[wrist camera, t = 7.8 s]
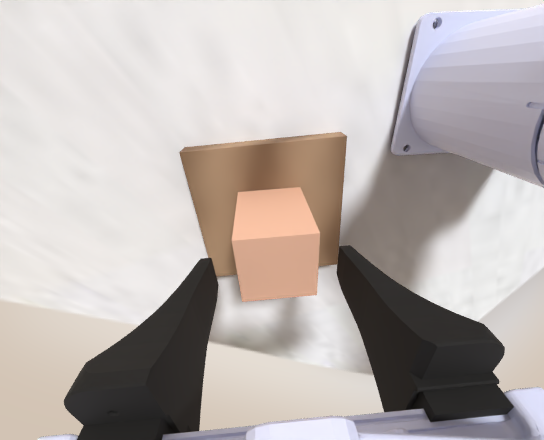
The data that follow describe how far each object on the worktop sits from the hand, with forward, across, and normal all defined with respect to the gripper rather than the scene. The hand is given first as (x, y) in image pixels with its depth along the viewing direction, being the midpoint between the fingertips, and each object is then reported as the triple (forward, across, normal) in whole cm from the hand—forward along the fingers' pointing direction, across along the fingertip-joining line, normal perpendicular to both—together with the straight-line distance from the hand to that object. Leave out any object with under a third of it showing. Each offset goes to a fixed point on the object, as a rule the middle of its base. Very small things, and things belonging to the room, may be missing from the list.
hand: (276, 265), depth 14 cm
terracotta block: (+6, 0, 0) cm, 6 cm away
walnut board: (+8, 0, 0) cm, 8 cm away
